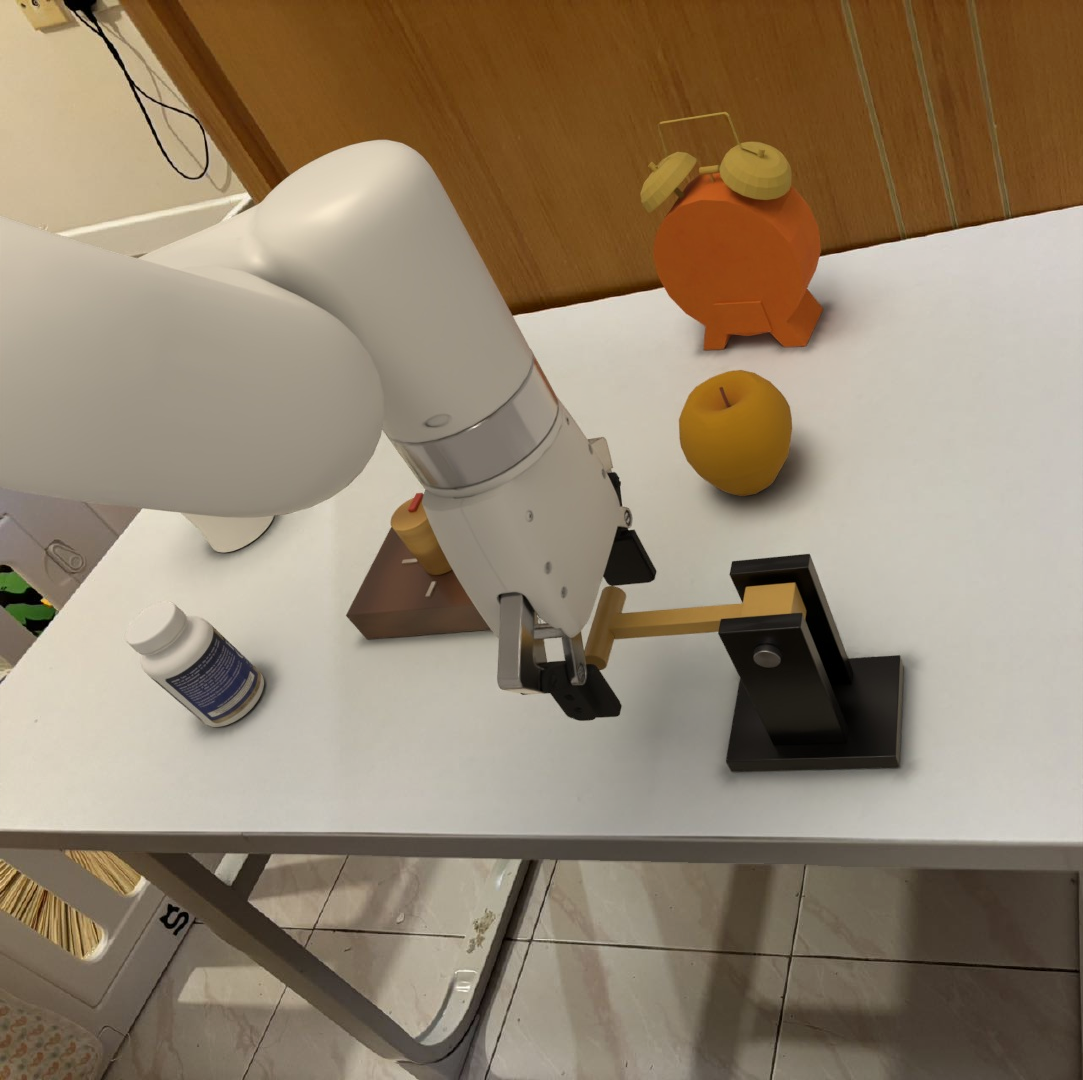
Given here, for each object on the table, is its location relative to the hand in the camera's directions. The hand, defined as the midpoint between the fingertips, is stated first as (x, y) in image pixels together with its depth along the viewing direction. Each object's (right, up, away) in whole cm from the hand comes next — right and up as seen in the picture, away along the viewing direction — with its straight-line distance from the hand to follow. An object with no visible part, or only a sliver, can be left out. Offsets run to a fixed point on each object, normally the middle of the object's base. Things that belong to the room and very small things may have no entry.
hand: (615, 642), depth 58 cm
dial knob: (-15, +5, +19) cm, 25 cm away
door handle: (+5, +1, -2) cm, 5 cm away
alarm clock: (+10, +25, +33) cm, 43 cm away
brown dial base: (-14, +2, +22) cm, 26 cm away
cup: (-39, +7, +37) cm, 54 cm away
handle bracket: (+12, -5, +2) cm, 13 cm away
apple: (+9, +10, +19) cm, 24 cm away
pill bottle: (-32, -7, +21) cm, 38 cm away
